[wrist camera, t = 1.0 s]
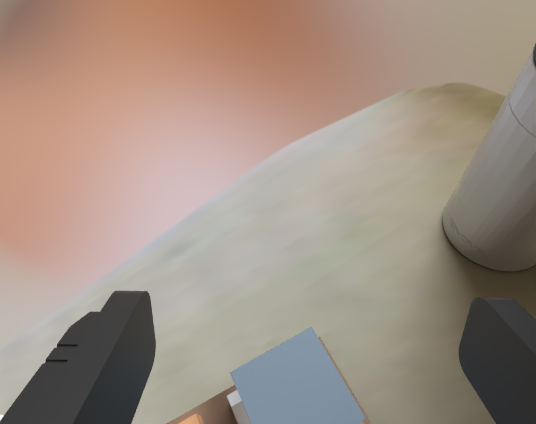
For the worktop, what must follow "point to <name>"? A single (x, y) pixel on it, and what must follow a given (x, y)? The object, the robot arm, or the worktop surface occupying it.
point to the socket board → (233, 408)
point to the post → (295, 386)
